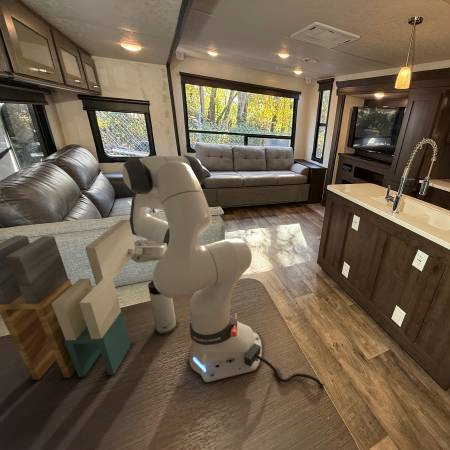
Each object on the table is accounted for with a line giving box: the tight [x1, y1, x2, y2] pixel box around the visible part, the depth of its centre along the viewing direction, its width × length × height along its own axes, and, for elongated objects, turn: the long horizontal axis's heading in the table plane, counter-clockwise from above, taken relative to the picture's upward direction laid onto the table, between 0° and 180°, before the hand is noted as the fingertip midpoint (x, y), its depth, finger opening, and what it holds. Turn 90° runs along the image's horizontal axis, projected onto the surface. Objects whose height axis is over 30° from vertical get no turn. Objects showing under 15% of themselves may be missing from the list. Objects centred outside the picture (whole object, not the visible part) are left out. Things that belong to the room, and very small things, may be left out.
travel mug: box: [147, 280, 177, 335], centre depth 83 cm, size 6×7×20 cm
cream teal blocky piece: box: [52, 278, 132, 377], centre depth 69 cm, size 9×10×26 cm
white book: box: [84, 219, 135, 287], centre depth 77 cm, size 2×19×13 cm, turn 8°
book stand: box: [0, 235, 76, 380], centre depth 65 cm, size 9×10×39 cm
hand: (124, 251), depth 82 cm, fingers closed on white book, 2 cm apart
